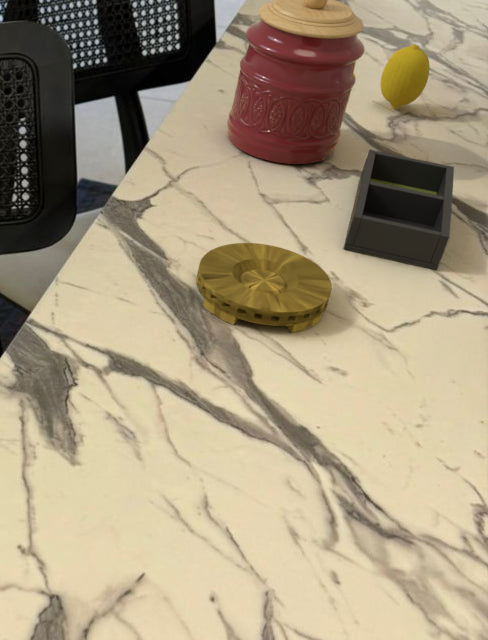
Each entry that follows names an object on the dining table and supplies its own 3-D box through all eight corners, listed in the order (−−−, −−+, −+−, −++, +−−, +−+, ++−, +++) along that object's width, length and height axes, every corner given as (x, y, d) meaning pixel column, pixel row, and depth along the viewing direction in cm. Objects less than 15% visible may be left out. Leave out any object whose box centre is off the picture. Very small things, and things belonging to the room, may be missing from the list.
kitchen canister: (225, 114, 126) (258, -41, 114) (331, 128, 125) (375, -26, 113) (223, 157, 117) (258, -7, 105) (338, 173, 115) (386, 9, 104)
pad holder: (442, 197, 113) (454, 166, 110) (436, 270, 100) (449, 237, 98) (359, 179, 115) (369, 149, 112) (343, 249, 102) (353, 216, 100)
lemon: (389, 97, 135) (408, 34, 129) (425, 111, 132) (446, 48, 126) (364, 105, 132) (383, 41, 126) (400, 120, 129) (421, 55, 123)
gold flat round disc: (194, 323, 90) (199, 301, 89) (194, 256, 99) (198, 236, 97) (331, 341, 89) (338, 319, 88) (319, 272, 98) (325, 252, 97)
